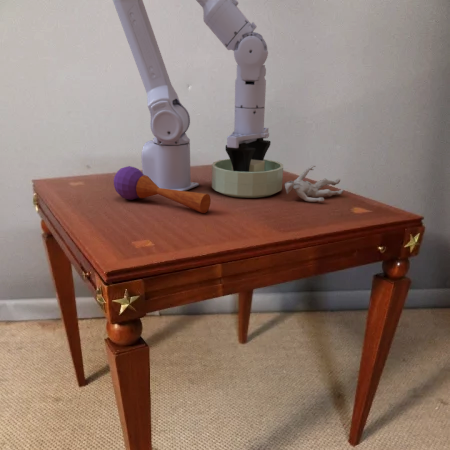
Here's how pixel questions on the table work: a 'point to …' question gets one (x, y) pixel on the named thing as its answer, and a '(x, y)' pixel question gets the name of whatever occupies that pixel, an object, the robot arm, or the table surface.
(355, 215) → the table surface
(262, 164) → the cube
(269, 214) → the table surface
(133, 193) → the purple wooden maraca
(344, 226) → the table surface
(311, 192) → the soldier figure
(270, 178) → the bowl
